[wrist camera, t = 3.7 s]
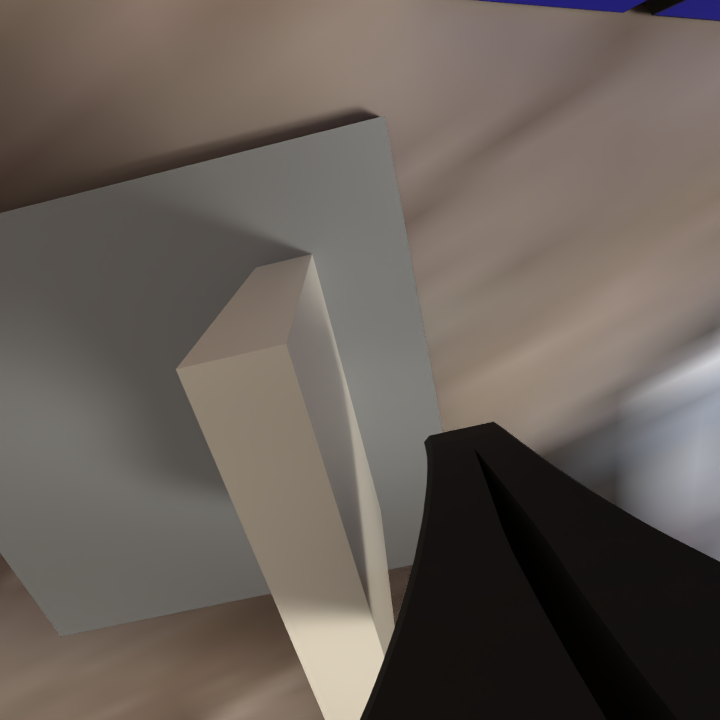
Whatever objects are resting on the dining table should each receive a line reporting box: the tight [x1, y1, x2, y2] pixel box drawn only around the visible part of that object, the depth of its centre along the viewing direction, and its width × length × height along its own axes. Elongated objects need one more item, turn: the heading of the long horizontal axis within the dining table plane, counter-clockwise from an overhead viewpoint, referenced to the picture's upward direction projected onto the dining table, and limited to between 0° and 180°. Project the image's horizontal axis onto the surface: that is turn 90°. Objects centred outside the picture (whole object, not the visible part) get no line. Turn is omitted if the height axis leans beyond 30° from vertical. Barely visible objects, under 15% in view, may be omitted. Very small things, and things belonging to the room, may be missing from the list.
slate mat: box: [0, 116, 443, 637], centre depth 13 cm, size 13×14×1 cm
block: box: [176, 254, 395, 720], centre depth 10 cm, size 8×2×6 cm, turn 13°
